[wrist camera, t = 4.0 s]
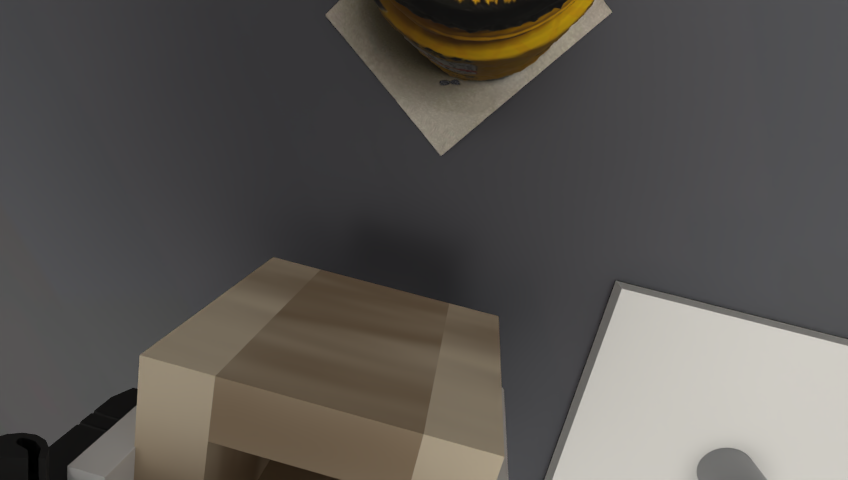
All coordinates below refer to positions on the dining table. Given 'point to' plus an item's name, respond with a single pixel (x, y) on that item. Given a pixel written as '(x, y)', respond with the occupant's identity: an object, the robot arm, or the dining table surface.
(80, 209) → the dining table surface
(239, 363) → the wooden hollow block
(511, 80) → the condiment
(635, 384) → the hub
